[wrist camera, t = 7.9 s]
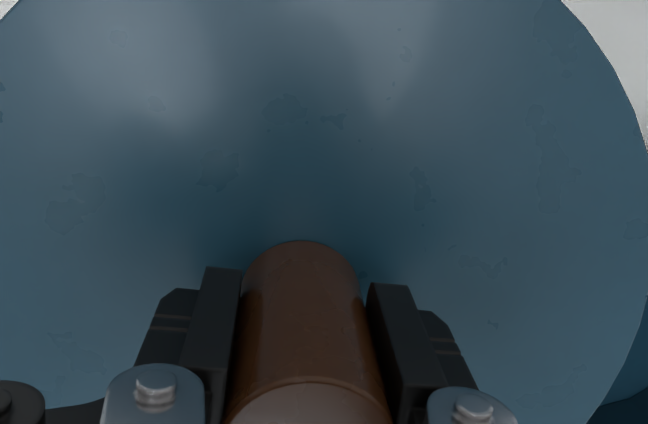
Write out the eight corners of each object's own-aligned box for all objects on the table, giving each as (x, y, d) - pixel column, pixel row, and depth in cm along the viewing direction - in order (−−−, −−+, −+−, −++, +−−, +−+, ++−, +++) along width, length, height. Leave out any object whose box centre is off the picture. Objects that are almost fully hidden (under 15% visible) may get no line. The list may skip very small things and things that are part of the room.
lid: (-34, 516, 16) (-206, 798, 11) (-84, -164, 11) (-470, -324, 6) (538, 546, 18) (658, 808, 12) (726, -39, 13) (1084, -63, 7)
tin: (417, 405, 33) (467, 562, 24) (476, 133, 28) (567, 201, 19) (677, 424, 34) (816, 578, 25) (775, 169, 29) (990, 247, 20)
